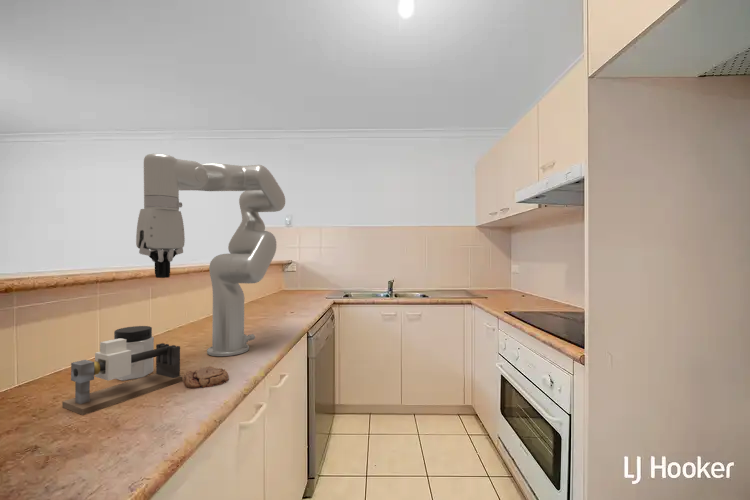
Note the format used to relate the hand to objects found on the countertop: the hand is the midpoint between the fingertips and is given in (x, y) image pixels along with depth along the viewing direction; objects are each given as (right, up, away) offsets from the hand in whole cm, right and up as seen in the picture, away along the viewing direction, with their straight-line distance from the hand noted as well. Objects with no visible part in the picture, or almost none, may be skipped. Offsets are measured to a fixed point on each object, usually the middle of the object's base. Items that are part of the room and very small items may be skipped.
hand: (162, 277), depth 89 cm
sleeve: (-4, -21, -12) cm, 24 cm away
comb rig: (-3, -26, -9) cm, 27 cm away
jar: (-9, -26, +3) cm, 28 cm away
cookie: (+12, -26, -1) cm, 29 cm away
